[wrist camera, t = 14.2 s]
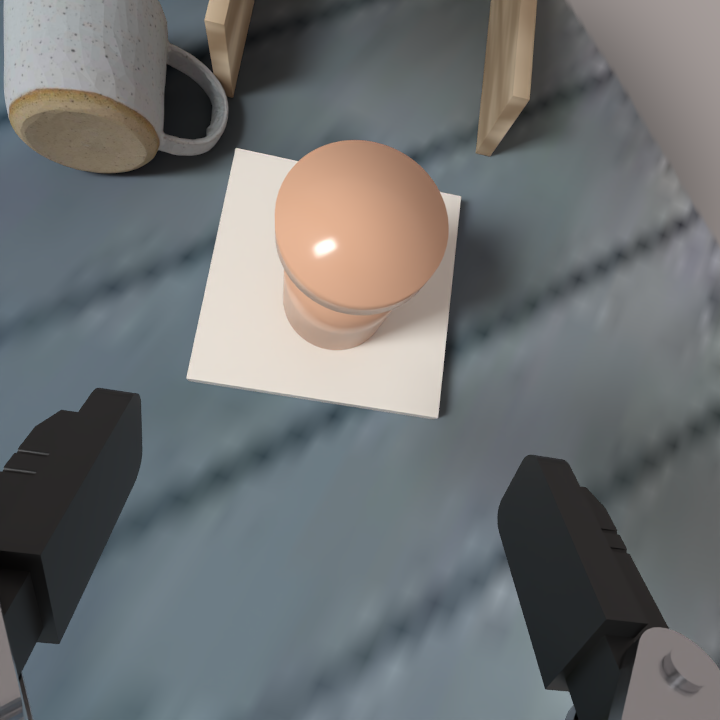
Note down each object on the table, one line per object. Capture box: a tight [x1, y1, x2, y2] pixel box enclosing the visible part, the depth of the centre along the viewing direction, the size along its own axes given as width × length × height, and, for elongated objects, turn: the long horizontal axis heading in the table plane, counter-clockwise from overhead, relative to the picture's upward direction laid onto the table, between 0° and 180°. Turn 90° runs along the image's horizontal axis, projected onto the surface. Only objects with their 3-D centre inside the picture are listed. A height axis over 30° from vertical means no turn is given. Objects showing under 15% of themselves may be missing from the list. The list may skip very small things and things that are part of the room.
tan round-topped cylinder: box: [275, 140, 449, 350], centre depth 24 cm, size 7×7×10 cm
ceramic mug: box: [4, 0, 229, 173], centre depth 27 cm, size 11×8×8 cm
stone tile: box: [187, 148, 461, 419], centre depth 30 cm, size 14×14×1 cm
